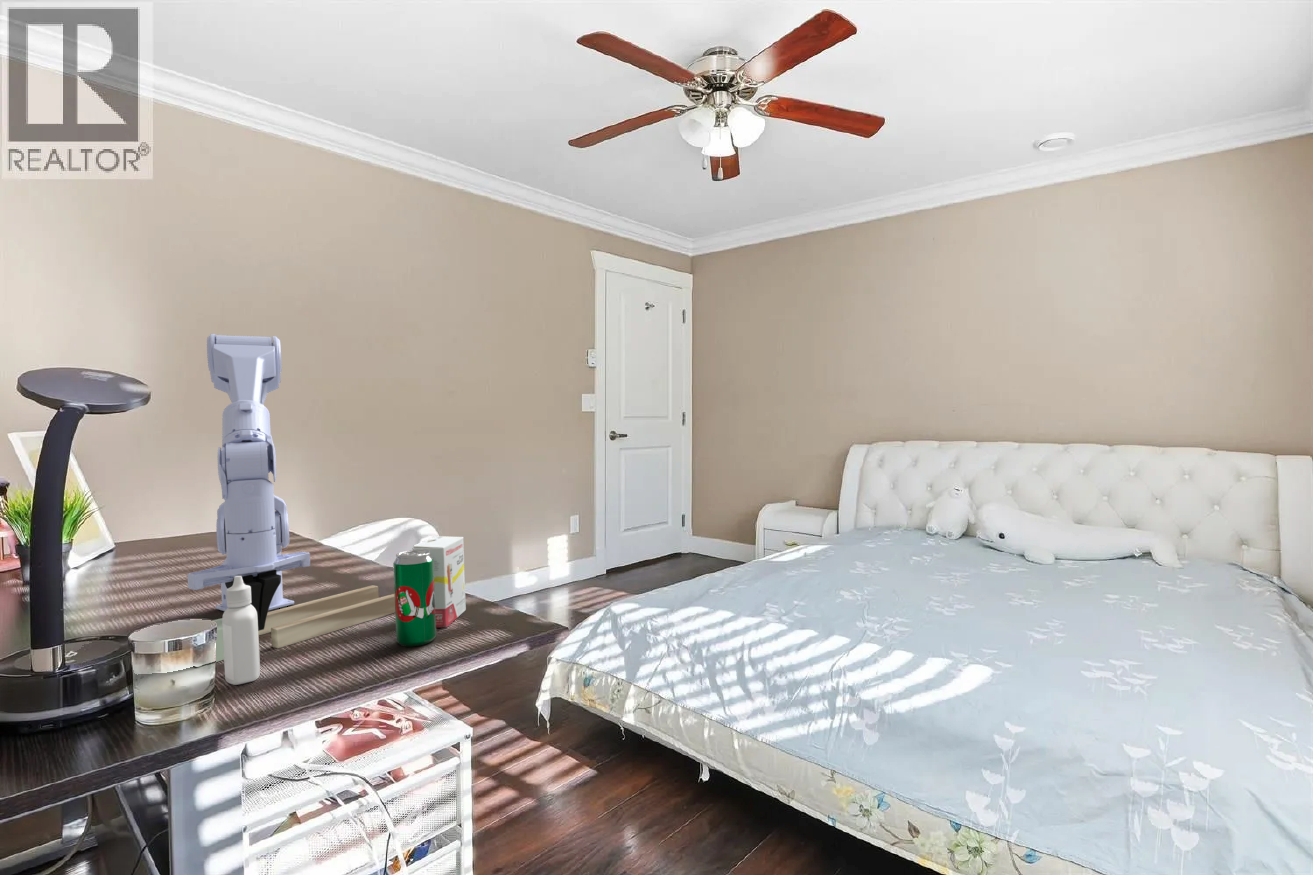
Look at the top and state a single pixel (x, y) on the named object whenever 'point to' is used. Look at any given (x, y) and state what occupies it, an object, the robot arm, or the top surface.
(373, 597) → the chute
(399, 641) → the soda can
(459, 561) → the ink box
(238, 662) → the eye dropper bottle
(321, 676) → the top surface
